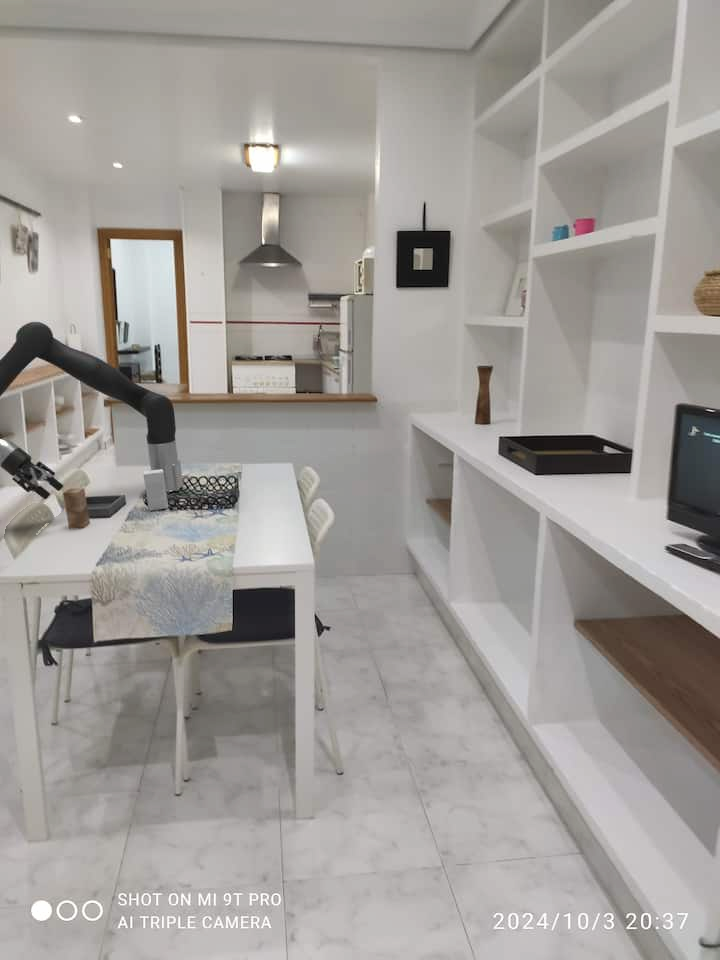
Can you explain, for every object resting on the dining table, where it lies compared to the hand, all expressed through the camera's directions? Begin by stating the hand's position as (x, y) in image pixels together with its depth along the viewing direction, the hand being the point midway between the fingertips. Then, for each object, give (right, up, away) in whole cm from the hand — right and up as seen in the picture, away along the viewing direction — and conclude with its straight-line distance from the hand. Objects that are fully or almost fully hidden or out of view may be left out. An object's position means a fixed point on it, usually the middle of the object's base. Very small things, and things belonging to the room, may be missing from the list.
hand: (54, 492), depth 205 cm
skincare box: (+26, -5, +16) cm, 31 cm away
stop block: (+6, -10, +3) cm, 12 cm away
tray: (+7, -6, +16) cm, 18 cm away
